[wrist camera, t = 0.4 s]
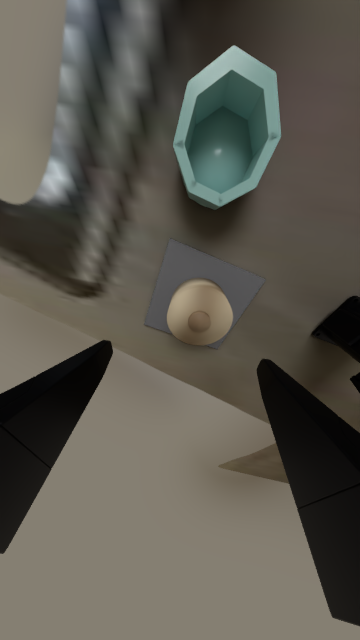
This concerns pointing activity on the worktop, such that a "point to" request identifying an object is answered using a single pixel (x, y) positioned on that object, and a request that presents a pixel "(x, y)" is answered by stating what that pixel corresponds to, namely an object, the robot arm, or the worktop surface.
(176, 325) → the lid
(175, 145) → the bowl
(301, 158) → the worktop surface
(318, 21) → the worktop surface
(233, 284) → the mat
